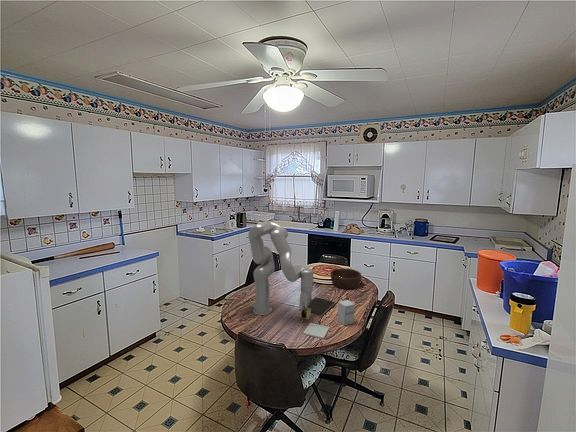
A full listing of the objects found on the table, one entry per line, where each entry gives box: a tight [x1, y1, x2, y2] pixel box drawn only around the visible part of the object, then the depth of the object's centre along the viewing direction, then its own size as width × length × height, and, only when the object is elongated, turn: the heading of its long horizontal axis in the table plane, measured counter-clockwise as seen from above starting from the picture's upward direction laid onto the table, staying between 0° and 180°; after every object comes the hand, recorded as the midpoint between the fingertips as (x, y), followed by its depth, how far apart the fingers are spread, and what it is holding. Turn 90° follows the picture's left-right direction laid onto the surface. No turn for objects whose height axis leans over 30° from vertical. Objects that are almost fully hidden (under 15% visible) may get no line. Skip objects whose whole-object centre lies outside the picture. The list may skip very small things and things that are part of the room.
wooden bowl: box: [330, 267, 362, 290], centre depth 238 cm, size 25×25×10 cm
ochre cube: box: [299, 308, 311, 320], centre depth 180 cm, size 5×5×5 cm
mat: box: [302, 322, 330, 340], centre depth 167 cm, size 12×12×1 cm
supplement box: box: [337, 299, 355, 326], centre depth 178 cm, size 7×7×13 cm
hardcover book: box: [298, 296, 336, 318], centre depth 197 cm, size 16×23×2 cm
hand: (305, 315), depth 180 cm, fingers closed on ochre cube, 5 cm apart
